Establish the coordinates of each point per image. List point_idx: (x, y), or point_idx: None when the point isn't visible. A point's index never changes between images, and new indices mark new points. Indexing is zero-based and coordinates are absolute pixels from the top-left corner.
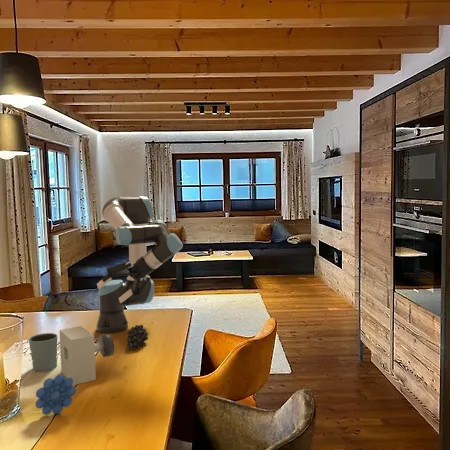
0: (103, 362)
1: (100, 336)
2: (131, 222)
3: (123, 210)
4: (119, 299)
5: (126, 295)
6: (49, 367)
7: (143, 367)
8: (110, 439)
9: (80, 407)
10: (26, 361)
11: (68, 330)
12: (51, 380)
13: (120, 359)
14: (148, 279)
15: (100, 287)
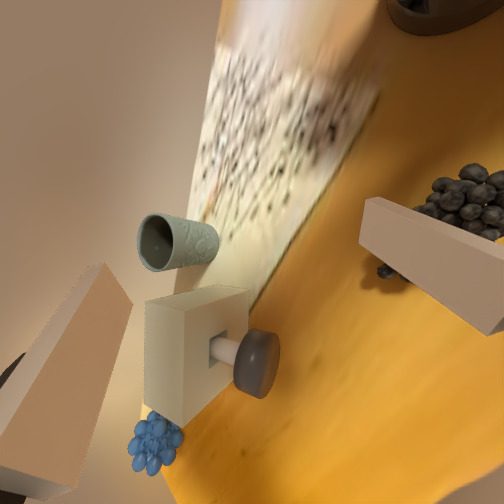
0: (290, 295)
1: (237, 353)
2: None
3: None
4: (365, 219)
5: (423, 268)
6: (202, 263)
7: (353, 402)
8: None
9: (202, 432)
10: (190, 192)
11: (155, 325)
12: (132, 455)
13: (330, 307)
14: None
15: (123, 318)
